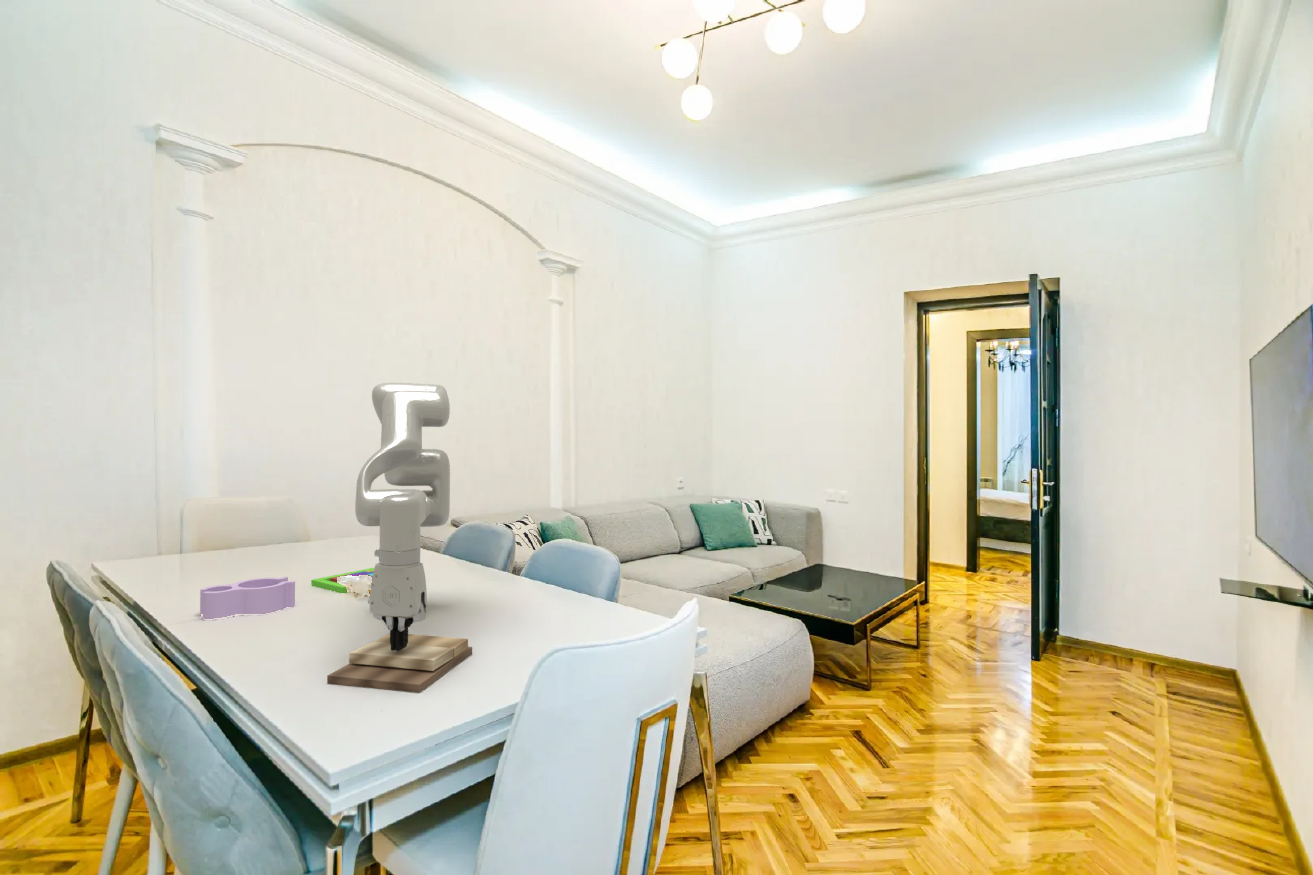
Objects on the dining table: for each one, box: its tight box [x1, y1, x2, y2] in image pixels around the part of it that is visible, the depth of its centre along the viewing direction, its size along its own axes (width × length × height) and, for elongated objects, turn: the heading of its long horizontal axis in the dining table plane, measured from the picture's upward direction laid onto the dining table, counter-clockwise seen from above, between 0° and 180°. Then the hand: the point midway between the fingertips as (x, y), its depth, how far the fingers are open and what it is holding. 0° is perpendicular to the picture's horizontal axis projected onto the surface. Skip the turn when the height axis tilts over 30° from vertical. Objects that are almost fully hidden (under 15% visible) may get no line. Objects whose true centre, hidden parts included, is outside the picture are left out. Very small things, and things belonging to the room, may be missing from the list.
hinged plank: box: [348, 640, 454, 671], centre depth 131 cm, size 18×8×2 cm, turn 80°
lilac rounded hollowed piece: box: [199, 576, 296, 619], centre depth 169 cm, size 20×12×7 cm, turn 134°
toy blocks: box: [310, 566, 375, 594], centre depth 199 cm, size 23×2×25 cm
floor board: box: [326, 632, 473, 694], centre depth 132 cm, size 19×21×4 cm
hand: (398, 648), depth 131 cm, fingers closed
